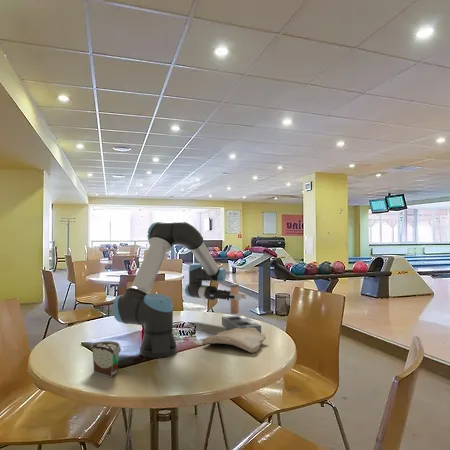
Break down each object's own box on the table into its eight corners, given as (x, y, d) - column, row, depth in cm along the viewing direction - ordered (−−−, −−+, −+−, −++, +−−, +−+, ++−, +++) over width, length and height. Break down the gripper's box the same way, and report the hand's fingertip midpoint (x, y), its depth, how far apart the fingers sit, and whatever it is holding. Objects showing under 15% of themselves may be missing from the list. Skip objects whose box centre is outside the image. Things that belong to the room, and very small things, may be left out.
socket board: (261, 333, 178) (261, 324, 178) (238, 336, 174) (238, 327, 174) (242, 322, 200) (242, 314, 201) (221, 324, 196) (221, 316, 196)
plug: (240, 313, 191) (240, 284, 192) (232, 314, 190) (231, 285, 190) (237, 311, 196) (236, 283, 196) (228, 312, 194) (228, 284, 194)
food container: (128, 372, 129) (128, 344, 129) (114, 378, 124) (114, 348, 124) (105, 365, 136) (105, 338, 136) (91, 371, 130) (91, 343, 131)
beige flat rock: (220, 338, 174) (200, 346, 156) (221, 322, 175) (201, 328, 157) (268, 346, 164) (252, 356, 146) (269, 329, 165) (254, 337, 147)
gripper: (218, 296, 211) (252, 301, 197) (198, 301, 197) (233, 307, 183) (218, 283, 211) (251, 287, 197) (198, 287, 197) (233, 292, 183)
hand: (242, 296), depth 190 cm, fingers closed on plug, 4 cm apart
